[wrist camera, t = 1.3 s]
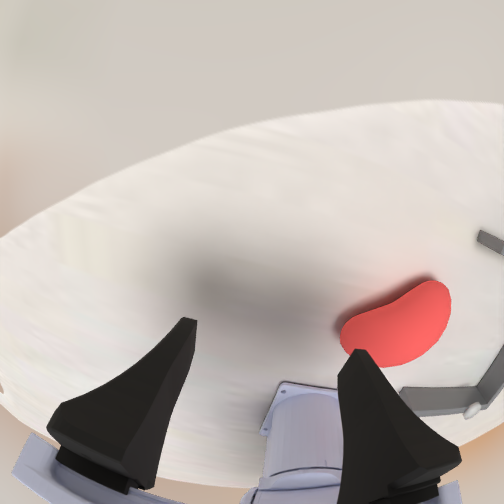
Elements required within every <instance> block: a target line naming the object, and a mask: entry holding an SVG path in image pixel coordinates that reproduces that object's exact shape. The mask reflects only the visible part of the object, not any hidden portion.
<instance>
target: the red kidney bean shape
mask: <svg viewBox="0 0 504 504" xmlns="http://www.w3.org/2000/svg"><path fill="white" fill-rule="evenodd" d="M450 313H451V297H450V293H449V290H448V288H447V287H446V286H445V285H444V284H443V283H441V282H438V281H434V280H432V281H426V282H424V283H422V284H420V285H418V286H417V287H415V288H413V289H412V290H410V291H409V292H407V293H406V294H404V295H403V296H402V297H400V298H399V299H397V300H396V301H394V302H392V303H390V304H387V305H385V306H382V307H379V308H376V309H373V310H370V311H367V312H364V313H362V314H359V315H356V316H354V317H352V318H351V319H350V320H348V321H347V322H346V323H345V325H344V326H343V328H342V330H341V334H340V344H341V345H342V347H343V348H344V350H345V351H346V353H348V354H349V355H351V354H352V352H353V351H354V349H364V350H367V352H368V353H369V354H370V356H371V357H372V359H373V360H374V361H375V363H376V364H377V366H378V367H382V368H384V367H392V366H398V365H402V364H405V363H408V362H410V361H412V360H414V359H416V358H418V357H419V356H421V355H423V354H424V353H425V352H426V351H428V350H429V349H430V348H431V347H432V346H433V345H434V344H435V343H436V342H437V341H438V340H439V338H440V337H441V335H442V333H443V332H444V330H445V329H446V326H447V323H448V320H449V317H450Z"/></svg>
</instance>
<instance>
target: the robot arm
mask: <svg viewBox="0 0 504 504" xmlns="http://www.w3.org/2000/svg"><path fill="white" fill-rule="evenodd" d="M196 330H197V320H194V319H190V318H186V317H183V318H181V319H180V320H179V322H178V323H177V324H176V325H175V326H174V328H173V329H172V330H171V331H170V332H169V333H168V334H167V335H166V336H165V337H164V338H163V339H162V340H161V341H160V342H159V343H158V344H157V345H156V346H155V347H154V348H153V349H152V350H151V351H150V352H149V353H147V354H146V355H145V356H144V357H143V358H142V359H141V360H139V361H138V362H137V363H136V364H134V365H133V366H132V367H130V368H129V369H128V370H126V371H125V372H123V373H122V374H120V375H119V376H117V377H116V378H114V379H112V380H111V381H109V382H107V383H106V384H104V385H102V386H100V387H98V388H96V389H94V390H92V391H90V392H88V393H86V394H84V395H81V396H79V397H76V398H73V399H71V400H68V401H65V402H62V403H61V404H60V405H59V407H58V408H57V409H56V411H55V412H54V414H53V415H52V417H51V419H50V421H49V423H48V425H47V427H46V428H47V431H48V432H49V434H50V435H51V436H52V437H53V438H54V439H55V440H56V441H57V442H58V443H59V444H61V447H60V449H59V450H58V449H56V448H55V447H54V446H52V445H51V444H49V443H48V442H46V441H45V440H43V439H42V438H40V437H39V436H37V435H36V434H34V433H31V434H30V436H29V438H28V439H27V441H26V444H25V446H24V447H23V449H22V452H21V453H20V456H19V458H18V460H17V462H16V464H15V466H14V469H13V471H12V475H13V476H14V477H15V478H16V479H18V480H19V481H20V482H21V483H23V484H24V485H25V486H27V487H28V488H29V489H31V490H32V491H33V492H35V493H36V494H37V495H39V496H40V497H42V498H43V499H44V500H46V501H47V502H49V503H50V504H185V503H181V502H177V501H173V500H170V499H166V498H163V497H159V496H156V495H153V494H150V493H147V492H144V491H141V490H138V488H139V489H142V490H148V489H151V488H153V487H154V484H155V479H156V474H157V469H158V465H159V460H160V456H161V452H162V448H163V444H164V440H165V436H166V432H167V428H168V425H169V421H170V418H171V415H172V412H173V409H174V406H175V404H176V401H177V399H178V397H179V394H180V392H181V389H182V387H183V384H184V382H185V379H186V377H187V375H188V372H189V369H190V366H191V362H192V359H193V355H194V352H195V341H196ZM282 390H285V391H282ZM259 434H260V435H262V436H267V444H266V453H265V460H264V468H263V478H260V481H259V487H253V488H251V489H250V490H249V491H248V492H247V493H246V494H244V496H243V497H242V499H241V501H240V503H239V504H462V500H461V493H460V489H459V484H458V480H456V481H453V482H451V483H448V484H446V485H443V486H441V487H439V488H438V487H437V484H438V483H440V481H441V480H440V476H442V475H443V474H445V473H447V472H448V471H450V470H452V469H453V468H455V467H456V466H458V465H459V464H460V463H461V461H462V459H461V455H460V451H459V448H458V446H456V445H454V444H453V443H451V442H449V441H448V440H446V439H444V438H443V437H442V436H440V435H439V434H437V433H436V432H435V431H433V430H432V429H431V428H430V427H429V426H427V425H426V424H425V423H424V422H423V421H422V420H421V419H420V418H419V417H418V416H417V415H416V414H415V413H414V412H413V411H412V410H411V409H410V408H409V407H408V406H407V405H406V403H405V402H404V401H403V400H402V399H401V397H400V396H399V395H398V394H397V392H396V391H395V390H394V388H393V387H392V386H391V384H390V383H389V382H388V380H387V379H386V377H385V376H384V374H383V373H382V372H381V370H380V369H379V367H378V366H377V364H376V363H375V361H374V360H373V359H372V357H371V356H370V354H369V353H368V352H367V350H364V349H354V351H353V352H352V354H351V355H350V357H349V359H348V360H347V362H346V363H345V365H344V366H343V368H342V369H341V371H340V372H339V374H338V390H331V389H323V388H316V387H310V386H303V385H297V384H291V383H282V384H280V386H279V389H278V391H277V393H276V395H275V398H274V400H273V402H272V405H271V407H270V409H269V411H268V413H267V416H266V418H265V420H264V422H263V424H262V426H261V429H260V431H259Z"/></svg>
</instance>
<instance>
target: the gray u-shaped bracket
mask: <svg viewBox="0 0 504 504" xmlns="http://www.w3.org/2000/svg"><path fill="white" fill-rule="evenodd" d="M477 241H478V242H480V243H481V244H483V245H485V246H487V247H489V248H491V249H492V250H494V251H496V252H498V253H499V254H501V255H503V256H504V241H502V240H500V239H498V238H496V237H494V236H492V235H490V234H488V233H486V232H484V231H482V230H480V233H479V236H478V239H477ZM503 388H504V346H503V347H502V349H501V351H500V352H499V354H498V356H497V357H496V359H495V361H494V362H493V364H492V365H491V367H490V368H489V370H488V371H487V373H486V374H485V376H484V377H483V378H482V380H481V381H480V383H479V384H478V385H477V386H476V387H455V388H416V387H403V389H402V390H401V391H400V393H399V395H400V397H401V399H402V400H403V401H404V402H405V403H406V405H407V406H408V407H409V408H410V409H411V410H412V411H413V412H414V413H415V414H416V415H417V416H418V417H426V416H439V415H450V414H458V413H463V416H464V418H465V419H466V420H467V419H470V418H472V417H473V416H475V415H476V414H477V413H478V412H479V411H480V410H485V409H487V408H488V407H489V405H490V404H491V403H492V402H493V401H494V399H495V398H496V397H497V395H498V394H499V393H500V392H501V390H502V389H503Z"/></svg>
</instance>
